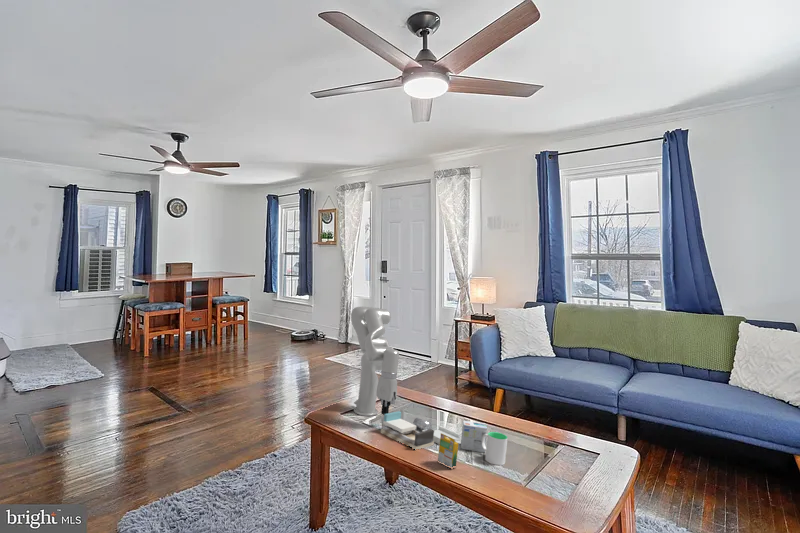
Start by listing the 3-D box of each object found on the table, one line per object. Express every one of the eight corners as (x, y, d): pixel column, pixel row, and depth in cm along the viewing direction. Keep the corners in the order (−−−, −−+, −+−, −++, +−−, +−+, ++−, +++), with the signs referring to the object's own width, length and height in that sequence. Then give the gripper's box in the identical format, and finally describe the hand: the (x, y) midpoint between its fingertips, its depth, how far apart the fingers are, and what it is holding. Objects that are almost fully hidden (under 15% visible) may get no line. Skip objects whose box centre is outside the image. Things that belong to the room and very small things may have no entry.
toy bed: (382, 428, 183) (384, 414, 183) (397, 424, 189) (399, 411, 190) (401, 437, 174) (402, 422, 174) (415, 433, 181) (417, 419, 181)
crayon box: (456, 468, 154) (459, 438, 154) (451, 470, 152) (454, 439, 152) (442, 461, 159) (445, 431, 160) (437, 462, 157) (440, 433, 158)
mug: (474, 454, 170) (476, 429, 170) (486, 451, 174) (489, 427, 175) (496, 466, 160) (499, 440, 160) (508, 463, 165) (511, 437, 165)
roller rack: (421, 435, 184) (422, 430, 184) (440, 430, 193) (440, 425, 193) (441, 445, 175) (442, 439, 175) (459, 439, 185) (460, 434, 185)
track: (380, 432, 182) (382, 418, 182) (398, 428, 190) (400, 414, 190) (415, 450, 166) (417, 434, 166) (433, 445, 174) (435, 430, 175)
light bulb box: (483, 447, 179) (486, 423, 180) (485, 453, 172) (488, 428, 173) (460, 443, 180) (462, 419, 181) (460, 449, 174) (463, 424, 174)
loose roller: (412, 427, 194) (413, 418, 194) (418, 425, 197) (419, 417, 197) (424, 432, 188) (425, 423, 189) (430, 431, 191) (431, 422, 192)
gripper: (373, 372, 193) (368, 410, 192) (394, 379, 183) (389, 419, 181) (384, 371, 199) (380, 408, 197) (405, 378, 188) (401, 417, 187)
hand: (384, 413), depth 189 cm, fingers closed
